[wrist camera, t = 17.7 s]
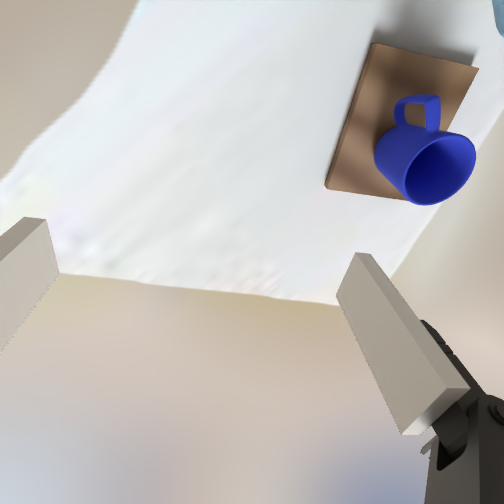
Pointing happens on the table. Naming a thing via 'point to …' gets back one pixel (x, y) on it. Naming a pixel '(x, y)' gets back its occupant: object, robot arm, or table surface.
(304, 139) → the table surface
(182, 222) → the table surface
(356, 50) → the table surface
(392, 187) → the walnut board
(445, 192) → the mug
